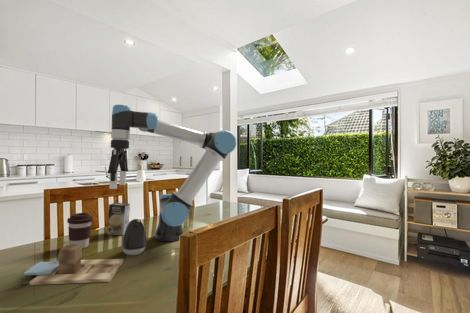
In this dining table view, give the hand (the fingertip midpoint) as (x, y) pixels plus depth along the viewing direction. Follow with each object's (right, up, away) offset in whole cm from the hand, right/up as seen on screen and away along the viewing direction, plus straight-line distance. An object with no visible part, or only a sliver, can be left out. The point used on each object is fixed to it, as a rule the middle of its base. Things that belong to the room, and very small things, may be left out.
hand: (118, 186), depth 110 cm
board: (-3, -29, -22) cm, 36 cm away
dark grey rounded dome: (+8, -29, -3) cm, 31 cm away
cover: (-15, -26, -22) cm, 37 cm away
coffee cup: (-19, -28, +2) cm, 34 cm away
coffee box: (-11, -29, +24) cm, 39 cm away
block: (-7, -28, -22) cm, 36 cm away
